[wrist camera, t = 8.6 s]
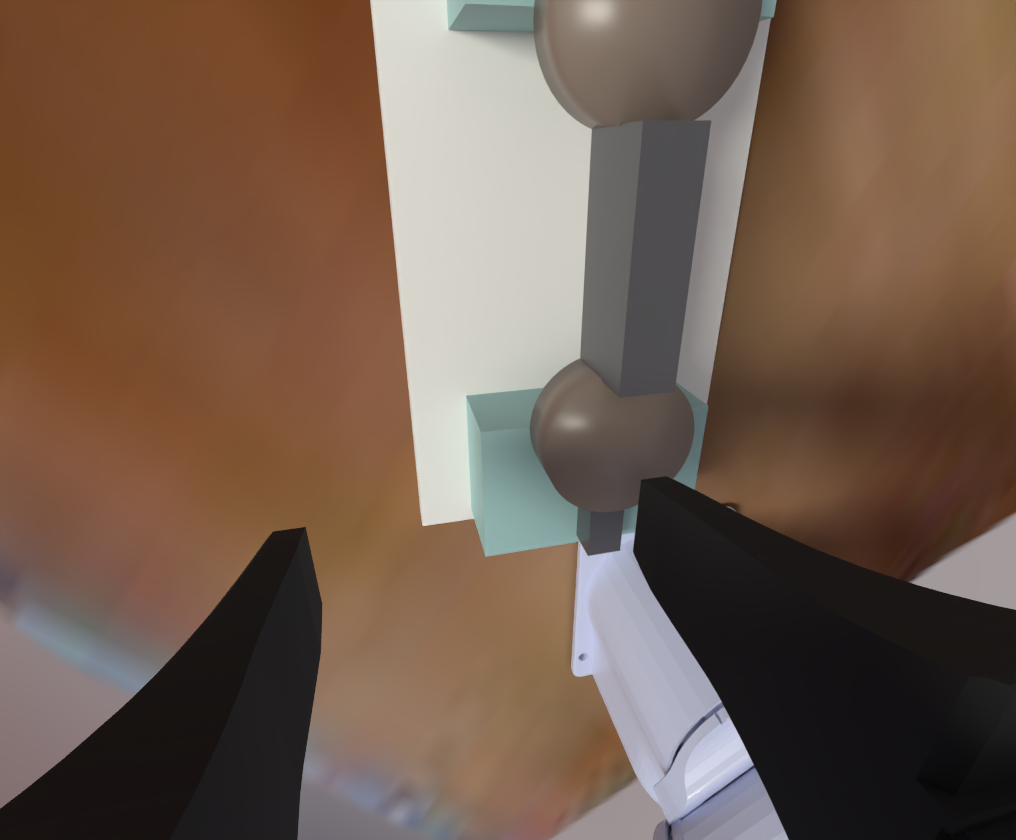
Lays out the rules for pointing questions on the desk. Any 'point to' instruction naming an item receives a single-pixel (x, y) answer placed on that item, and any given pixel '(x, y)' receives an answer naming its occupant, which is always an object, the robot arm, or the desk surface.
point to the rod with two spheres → (632, 236)
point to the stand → (515, 253)
